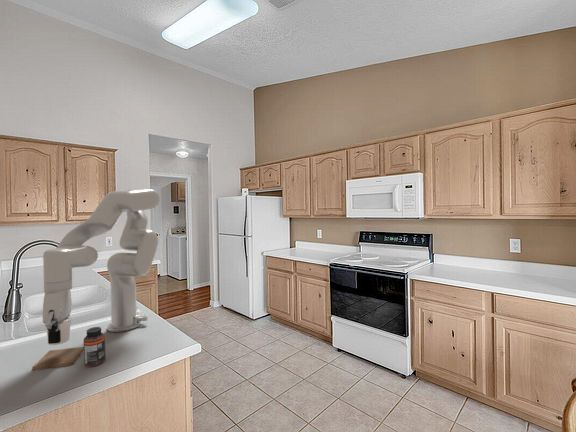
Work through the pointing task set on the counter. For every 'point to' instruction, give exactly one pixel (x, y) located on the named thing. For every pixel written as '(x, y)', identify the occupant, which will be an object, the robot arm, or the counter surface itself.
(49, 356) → the coaster
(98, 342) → the supplement bottle
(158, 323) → the counter surface
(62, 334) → the white cup
